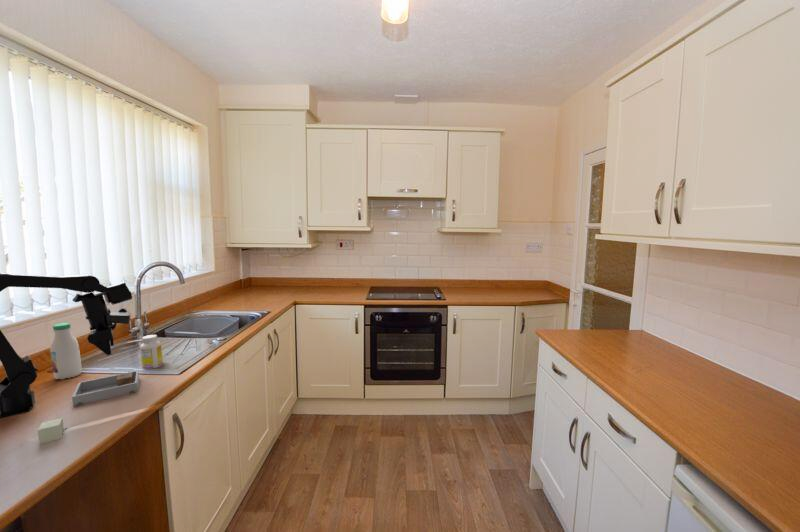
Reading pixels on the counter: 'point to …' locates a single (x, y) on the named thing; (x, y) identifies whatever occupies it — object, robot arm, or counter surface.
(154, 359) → the supplement bottle
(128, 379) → the walnut block
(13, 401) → the robot arm
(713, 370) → the counter surface
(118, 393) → the grey shallow tray
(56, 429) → the sage block
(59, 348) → the milk bottle
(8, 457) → the counter surface
